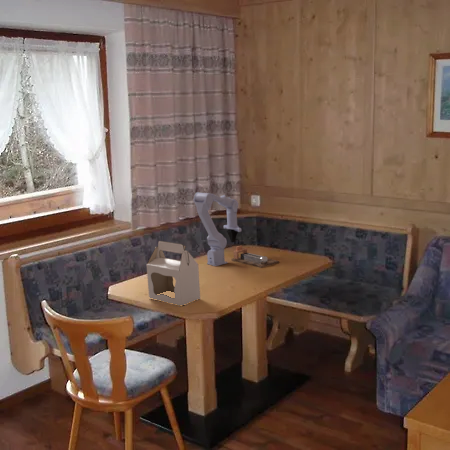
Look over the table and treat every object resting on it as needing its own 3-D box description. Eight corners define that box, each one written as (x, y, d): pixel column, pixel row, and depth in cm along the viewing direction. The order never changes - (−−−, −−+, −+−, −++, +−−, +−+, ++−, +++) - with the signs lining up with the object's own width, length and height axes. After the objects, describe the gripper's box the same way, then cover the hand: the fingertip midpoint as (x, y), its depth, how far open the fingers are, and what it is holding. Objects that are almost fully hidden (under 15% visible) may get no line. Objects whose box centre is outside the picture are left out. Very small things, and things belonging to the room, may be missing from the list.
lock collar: (247, 256, 380) (246, 245, 378) (237, 259, 375) (236, 248, 373) (243, 255, 382) (243, 244, 381) (233, 258, 377) (233, 247, 376)
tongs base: (269, 263, 363) (268, 257, 363) (263, 264, 361) (263, 258, 360) (246, 257, 378) (245, 251, 377) (240, 259, 375) (240, 253, 374)
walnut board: (279, 262, 367) (279, 261, 367) (261, 268, 358) (261, 266, 358) (249, 255, 386) (249, 254, 386) (231, 260, 377) (231, 258, 377)
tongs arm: (263, 261, 367) (263, 256, 366) (261, 261, 366) (261, 256, 365) (246, 257, 378) (245, 252, 377) (244, 257, 377) (244, 252, 376)
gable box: (201, 299, 310) (197, 242, 304) (182, 307, 300) (178, 248, 295) (167, 291, 324) (163, 237, 319) (148, 299, 314) (144, 242, 309)
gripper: (245, 219, 375) (246, 242, 378) (229, 216, 387) (230, 239, 389) (235, 221, 371) (236, 244, 374) (220, 218, 383) (221, 241, 385)
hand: (233, 242), depth 381 cm, fingers closed
